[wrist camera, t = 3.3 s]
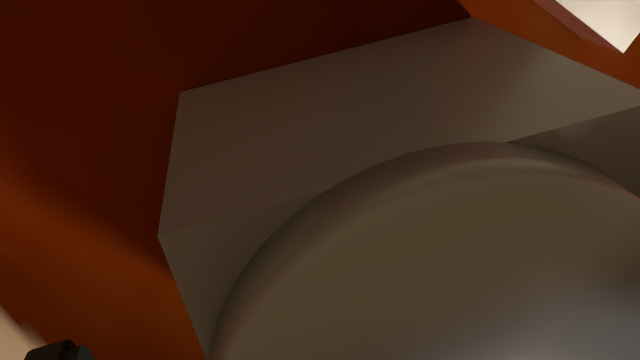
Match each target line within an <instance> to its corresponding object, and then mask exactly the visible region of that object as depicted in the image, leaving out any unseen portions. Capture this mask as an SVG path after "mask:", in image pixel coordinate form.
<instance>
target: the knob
mask: <svg viewBox="0 0 640 360" xmlns="http://www.w3.org/2000/svg"><path fill="white" fill-rule="evenodd" d="M158 239H159V241H160V244H161V247H162V249H163V252H164V254H165V257H166V259H167V262H168V264H169V267H170V269H171V272H172V274H173V277H174V280H175V282H176V285H177V287H178V290H179V292H180V295H181V297H182V300H183V302H184V305H185V307H186V310H187V313H188V315H189V318H190V320H191V323H192V325H193V328H194V330H195V333H196V335H197V338H198V341H199V343H200V346H201V348H202V351H203V353H204V356H205V358H206V360H640V89H638V88H635V87H633V86H631V85H629V84H626V83H624V82H622V81H619V80H617V79H615V78H612V77H610V76H608V75H605V74H603V73H601V72H599V71H596V70H594V69H592V68H589V67H587V66H585V65H582V64H580V63H578V62H576V61H573V60H571V59H569V58H566V57H564V56H562V55H559V54H557V53H555V52H553V51H550V50H548V49H546V48H543V47H541V46H539V45H536V44H534V43H532V42H529V41H527V40H525V39H523V38H520V37H518V36H516V35H513V34H511V33H509V32H506V31H504V30H502V29H500V28H497V27H495V26H493V25H490V24H488V23H486V22H483V21H481V20H479V19H476V18H474V17H471V18H467V19H463V20H459V21H455V22H451V23H447V24H443V25H439V26H435V27H432V28H428V29H424V30H420V31H416V32H412V33H408V34H404V35H400V36H396V37H392V38H389V39H385V40H381V41H377V42H373V43H369V44H365V45H361V46H357V47H353V48H350V49H346V50H342V51H338V52H334V53H330V54H326V55H322V56H318V57H314V58H311V59H307V60H303V61H299V62H295V63H291V64H287V65H283V66H279V67H275V68H272V69H268V70H264V71H260V72H256V73H252V74H248V75H244V76H240V77H236V78H233V79H229V80H225V81H221V82H217V83H213V84H209V85H205V86H201V87H197V88H193V89H190V90H186V91H182V92H180V93H179V99H178V106H177V112H176V119H175V125H174V132H173V138H172V145H171V151H170V158H169V164H168V171H167V177H166V184H165V190H164V197H163V203H162V210H161V216H160V223H159V229H158Z"/></svg>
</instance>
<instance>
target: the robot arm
mask: <svg viewBox="0 0 640 360" xmlns="http://www.w3.org/2000/svg"><path fill="white" fill-rule="evenodd" d="M24 360H94V358H93V356H92V354H91V352H90V350H89V349H88V347H87V346H85V345H81V346H78V347H76V345H75V344H74V343H73V342H72V341H71V340H64V341H60V342H57V343H53V344H50V345H46V346H43V347H40V348H36V349H33V350H31V351H29V352H28V353H27V355H26V357H25V359H24Z"/></svg>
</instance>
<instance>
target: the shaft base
mask: <svg viewBox="0 0 640 360" xmlns="http://www.w3.org/2000/svg"><path fill="white" fill-rule="evenodd" d="M533 1H534V2H535V3H537V4H538V5H539V6H541V7H542V8H543V9H544V10H546V11H547V12H548V13H550V14H551V15H552V16H554V17H555V18H556V19H558V20H559V21H560V22H561V23H563V24H564V25H565V26H567V27H568V28H569V29H571V30H572V31H573V32H574V33H576V34H577V35H578V36H580V37H581V38H583V39H586V40H588V41H591V42H594V43H597V44H599V45H602V46H605V47H608V48H610V49H613V50H616V51H619V52H621V53H624V52H625V50H626V49H627V48H628V46H629V45H630V44H631V43H632V41H633V40H634V39H635V37H636V36H637V35H638V34H639V32H640V0H533Z"/></svg>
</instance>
